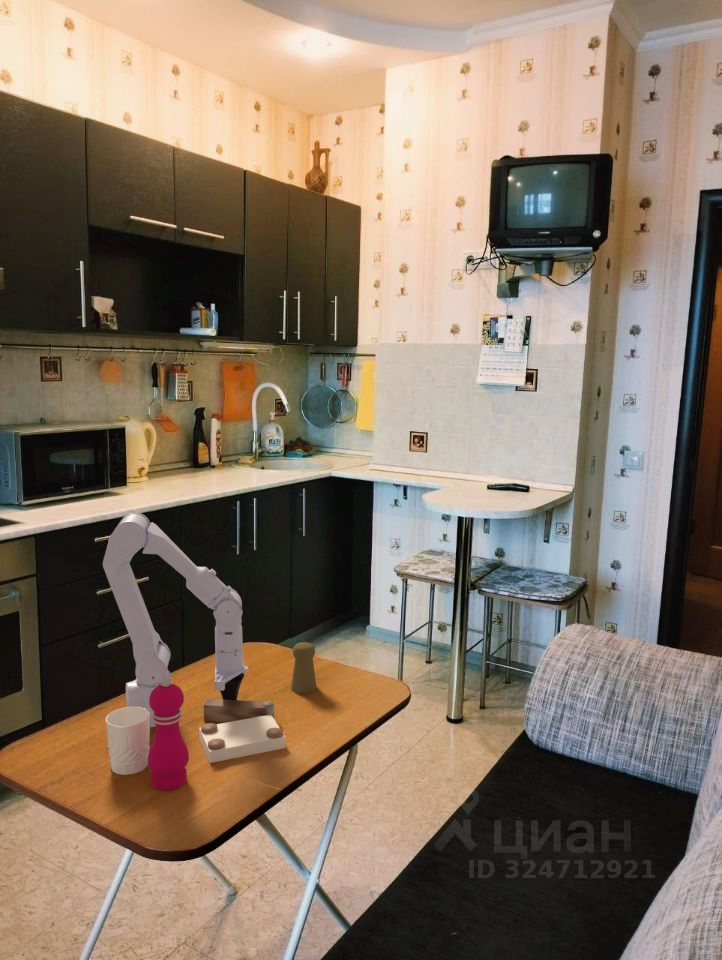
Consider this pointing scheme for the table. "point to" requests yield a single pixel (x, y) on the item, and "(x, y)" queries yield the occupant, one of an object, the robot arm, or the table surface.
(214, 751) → the stool seat
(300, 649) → the cork
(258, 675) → the table surface
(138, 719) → the white cup
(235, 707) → the folding leg
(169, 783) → the pepper mill
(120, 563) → the robot arm
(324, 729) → the table surface
